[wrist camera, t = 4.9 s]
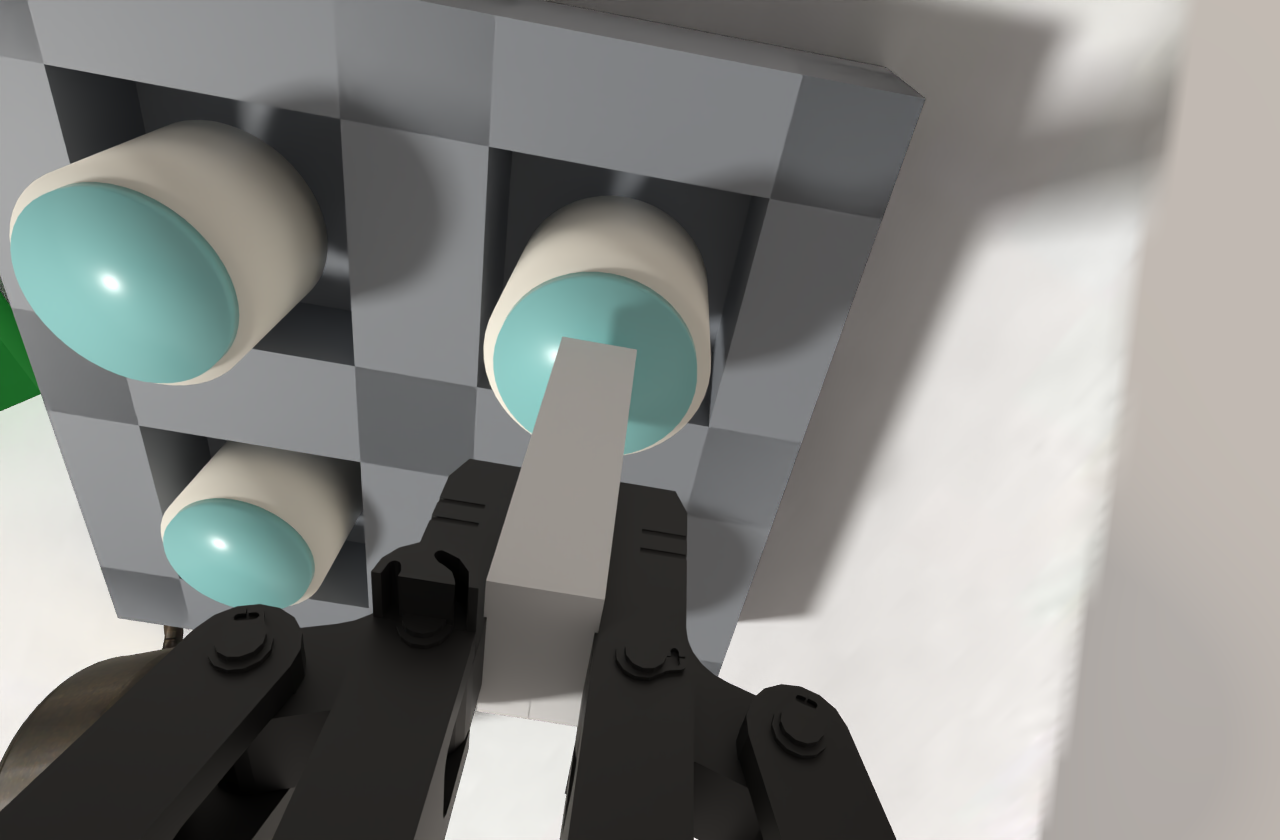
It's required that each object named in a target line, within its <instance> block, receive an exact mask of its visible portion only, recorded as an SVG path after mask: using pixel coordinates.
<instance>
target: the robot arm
mask: <svg viewBox="0 0 1280 840" xmlns="http://www.w3.org/2000/svg"><path fill="white" fill-rule="evenodd" d="M636 354H637V350H636V349H631V348H625V347H619V346H614V345H608V344H602V343H597V342H591V341H585V340H579V339H574V338H568V337H562V339H561V342H560V346H559V349H558V352H557V355H556V358H555V362H554V365H553V368H552V371H551V374H550V378H549V381H548V384H547V387H546V390H545V394H544V397H543V400H542V403H541V406H540V410H539V413H538V416H537V419H536V422H535V426H534V429H533V432H532V435H531V438H530V442H529V445H528V448H527V451H526V455H525V458H524V461H523V464H522V467H517V466H511V465H505V464H499V463H493V462H487V461H481V460H475V459H469V460H467V461H466V462H465V463H464V464H463V465H461V466H460V467H459V468H458V469H456V470H455V471H454V472H453V473H452V474H450V475H449V477H448V479H447V481H446V484H445V486H444V488H443V491H442V493H441V495H440V498H439V502H437V504H436V507H435V509H434V511H433V513H432V517H431V520H429V523H428V525H427V527H426V529H425V532H424V534H423V536H422V539H421V541H420V542H418V543H414V544H410V545H406V546H402V547H399V548H397V549H395V550H394V551H392V552H390V553H389V554H387V555H385V556H384V557H382V558H381V559H380V561H379V562H378V563H377V564H376V566H375V567H374V568H373V569H372V571H371V585H372V604H373V613H372V614H370V615H367V616H365V617H362V618H359V619H357V620H353V621H348V622H343V623H338V624H330V625H321V626H312V627H303V628H300V627H299V625H298V623H297V621H296V619H295V617H293V616H292V615H290V614H289V613H287V612H286V611H284V610H283V609H281V608H278V607H273V606H268V605H263V604H255V605H245V606H236V607H234V608H231V609H228V610H226V611H223V612H220V613H218V614H215V615H213V616H212V617H210V618H209V619H207V620H206V621H205V622H203V623H202V624H200V625H199V626H197V627H196V628H195V629H194V630H193V631H191V632H190V633H189V634H188V635H187V636H186V637H185V638H184V639H183V640H182V641H181V642H180V643H179V644H178V645H177V646H176V647H174V648H173V649H172V650H171V651H170V652H169V653H168V654H167V655H166V656H165V657H164V658H163V659H162V660H161V661H160V662H159V663H157V664H156V665H155V666H154V667H153V668H152V669H151V670H150V671H149V672H148V673H147V674H146V675H145V676H144V677H143V678H142V679H140V680H139V681H138V682H137V683H136V684H135V685H134V686H133V687H132V688H131V689H130V690H129V691H128V692H127V693H126V694H124V695H123V696H122V697H121V698H120V699H119V700H118V701H117V702H116V703H115V704H114V705H113V706H112V707H111V708H110V709H109V710H107V711H106V712H105V713H104V714H103V715H102V716H101V717H100V718H99V719H98V720H97V721H96V722H95V723H94V724H93V725H92V726H90V727H89V728H88V729H87V730H86V731H85V732H84V733H83V734H82V735H81V736H80V737H79V738H78V739H77V740H76V741H74V742H73V743H72V744H71V745H70V746H69V747H68V748H67V749H66V750H65V751H64V752H63V753H62V754H61V755H60V756H59V757H57V758H56V759H55V760H54V761H53V762H52V763H51V764H50V765H49V766H48V767H47V768H46V769H45V770H44V771H43V772H42V773H40V774H39V775H38V776H37V777H36V778H35V779H34V780H33V781H32V782H31V783H30V784H29V785H28V786H27V787H26V788H24V789H23V790H22V791H21V792H20V793H19V794H18V795H17V796H16V797H15V798H14V799H13V800H12V801H11V802H10V803H9V804H7V805H6V806H5V807H4V808H3V809H2V810H1V811H0V840H271V839H272V840H444V839H445V835H446V832H447V828H448V824H449V820H450V817H451V813H452V809H453V805H454V802H455V798H456V794H457V790H458V787H459V783H460V779H461V775H462V772H463V768H464V764H465V760H466V757H467V753H468V749H469V733H470V726H471V722H472V719H473V715H474V711H475V708H476V704H477V711H478V712H484V713H491V714H497V715H504V716H511V717H517V718H524V719H530V720H537V721H543V722H550V723H556V724H563V725H570V726H576V727H577V734H576V741H575V746H574V751H573V756H572V761H571V766H570V771H569V776H568V781H567V786H566V791H565V794H566V801H565V808H564V814H563V821H562V828H561V835H560V840H694V838H696V839H698V840H896V837H895V835H894V833H893V830H892V828H891V826H890V824H889V821H888V819H887V817H886V814H885V812H884V810H883V808H882V805H881V803H880V801H879V798H878V796H877V794H876V792H875V789H874V787H873V785H872V782H871V780H870V778H869V775H868V773H867V771H866V769H865V766H864V764H863V762H862V759H861V757H860V755H859V753H858V750H857V748H856V746H855V743H854V741H853V739H852V736H851V734H850V732H849V730H848V727H847V726H846V724H845V723H844V721H843V719H842V718H841V716H840V715H839V713H838V712H837V710H836V709H835V708H834V707H833V706H832V705H830V704H829V703H828V702H827V701H826V700H825V699H823V698H822V697H821V696H820V695H818V694H816V693H814V692H811V691H809V690H807V689H805V688H803V687H800V686H792V685H784V684H780V685H776V686H773V687H769V688H765V689H763V690H762V691H761V692H760V693H759V694H758V695H754V694H751V693H749V692H747V691H745V690H743V689H741V688H738V687H736V686H734V685H732V684H730V683H728V682H726V681H724V680H723V679H721V678H719V677H717V676H716V675H714V674H713V673H712V672H710V671H709V670H708V669H707V668H706V667H705V666H704V665H702V663H701V662H700V661H699V659H698V658H697V657H696V655H695V654H694V653H693V651H692V648H691V646H690V644H689V641H688V637H687V629H686V610H687V560H686V557H687V541H686V540H687V512H686V510H685V508H684V506H683V504H682V502H681V500H680V499H679V497H678V495H677V493H676V491H672V490H666V489H660V488H654V487H648V486H642V485H636V484H630V483H624V482H620V478H621V470H622V462H623V454H624V447H625V439H626V431H627V424H628V416H629V408H630V400H631V393H632V385H633V377H634V369H635V362H636ZM477 700H478V701H477ZM272 837H273V838H272Z"/></svg>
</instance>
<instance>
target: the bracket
mask: <svg viewBox="0 0 1280 840" xmlns="http://www.w3.org/2000/svg"><path fill="white" fill-rule="evenodd" d="M40 394H41V393H40V390H39V387H38V384H37V381H36V378H35V375H34V372H33V369H32V366H31V363H30V361H29V358H28V355H27V352H26V349H25V346H24V343H23V340H22V337H21V334H20V332H19V329H18V326H17V323H16V320H15V317H14V314H13V311H12V308H11V306H10V305H9V303H8V302H7V300H6V299H5V298H4V296H3V295H2V293H1V292H0V411H2V410H4V409H7V408H9V407H11V406H14V405H16V404H18V403H21V402H23V401H25V400H28V399H30V398H33V397H35V396H37V395H40Z"/></svg>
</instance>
